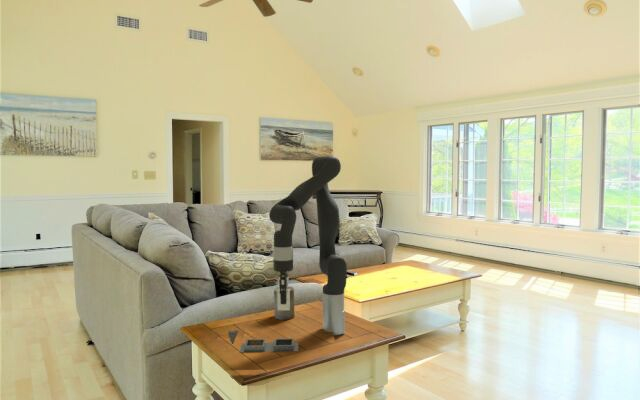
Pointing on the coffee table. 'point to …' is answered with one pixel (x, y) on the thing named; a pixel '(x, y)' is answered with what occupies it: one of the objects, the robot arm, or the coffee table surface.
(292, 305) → the pillar candle
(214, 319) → the coffee table surface
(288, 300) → the metal block with knob
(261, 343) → the block holder
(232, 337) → the smartphone
